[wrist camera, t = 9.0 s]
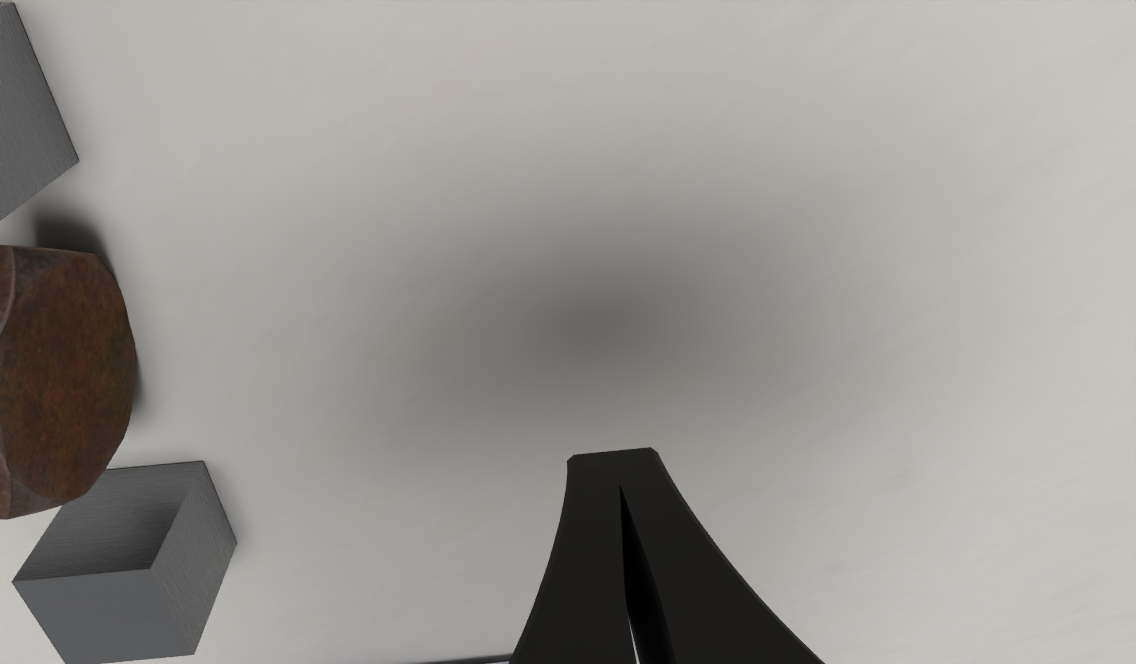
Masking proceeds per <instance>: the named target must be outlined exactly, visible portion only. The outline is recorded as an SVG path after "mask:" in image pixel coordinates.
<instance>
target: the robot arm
mask: <svg viewBox="0 0 1136 664" xmlns="http://www.w3.org/2000/svg"><path fill="white" fill-rule="evenodd" d="M628 617H629V618H628ZM629 621H630V624H629ZM630 626H631V630H632V634H633V638H634V642H635V646H636V651H637V655H638V659H639V663H640V664H825V663H824V662H823V661H822V660H821V659H819V658H818V657H817V656H816V655H815V654H814V653H813V652H812V651H811V650H810V649H809V648H808V647H807V646H806V645H805V644H804V643H803V642H802V641H801V640H800V639H799V638H798V637H797V636H796V635H795V634H794V633H793V632H792V631H791V630H790V629H789V628H788V627H787V626H786V625H785V624H784V623H783V622H782V621H781V620H780V619H779V618H778V617H777V616H776V615H775V614H774V613H773V612H772V610H771V609H770V608H769V607H768V606H767V605H766V604H765V603H764V602H763V601H762V599H761V598H760V597H759V596H758V595H757V594H756V593H755V592H754V590H753V589H752V588H751V587H750V586H749V585H748V583H747V582H746V581H745V580H744V579H743V577H742V576H741V575H740V574H739V573H738V571H737V570H736V569H735V568H734V567H733V565H732V564H731V563H730V562H729V560H728V559H727V558H726V557H725V555H724V554H723V553H722V552H721V550H720V549H719V548H718V546H717V545H716V544H715V542H714V541H713V539H712V538H711V537H710V535H709V534H708V533H707V531H706V530H705V529H704V527H703V526H702V525H701V523H700V522H699V520H698V519H697V518H696V516H695V515H694V513H693V512H692V510H691V509H690V507H689V506H688V504H687V503H686V501H685V500H684V498H683V497H682V495H681V493H680V492H679V490H678V489H677V487H676V485H675V484H674V482H673V480H672V479H671V477H670V475H669V474H668V472H667V470H666V468H665V466H664V464H663V463H662V461H661V459H660V456H659V454H658V452H656V451H655V450H654V449H652V448H651V447H649V448H639V449H629V450H618V451H608V452H598V453H587V454H577V455H573V456H572V457H571V458H570V459H569V460H568V461H567V484H566V492H565V498H564V503H563V508H562V513H561V518H560V522H559V526H558V530H557V533H556V537H555V541H554V544H553V548H552V552H551V555H550V559H549V562H548V565H547V568H546V571H545V574H544V577H543V580H542V582H541V585H540V588H539V591H538V594H537V597H536V599H535V602H534V605H533V608H532V610H531V613H530V615H529V618H528V620H527V623H526V625H525V628H524V630H523V632H522V635H521V637H520V639H519V642H518V644H517V646H516V648H515V650H514V653H513V655H512V657H511V659H510V661H507V662H497V663H486V664H637V663H636V657H635V652H634V646H633V641H632V635H631V630H630Z"/></svg>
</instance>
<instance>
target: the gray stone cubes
mask: <svg viewBox="0 0 1136 664" xmlns="http://www.w3.org/2000/svg"><path fill="white" fill-rule="evenodd" d="M77 162H79V161H78V159H77V156H76V154H75V151H74V149H73V147H72V144H71V142H70V139H69V137H68V134H67V132H66V130H65V127H64V125H63V122H62V120H61V118H60V115H59V113H58V110H57V108H56V106H55V103H54V101H53V98H52V96H51V93H50V91H49V89H48V86H47V84H46V81H45V79H44V77H43V74H42V72H41V69H40V67H39V64H38V62H37V60H36V57H35V55H34V52H33V50H32V48H31V45H30V43H29V40H28V38H27V36H26V33H25V31H24V28H23V26H22V23H21V21H20V19H19V16H18V14H17V11H16V9H15V7H14V4H13V3H3V4H0V221H1V220H2V219H3V218H5V217H6V216H7V215H8V214H10V213H11V212H12V211H14V210H15V209H16V208H18V207H19V206H20V205H22V204H23V203H24V202H26V201H27V200H28V199H30V198H31V197H32V196H34V195H35V194H36V193H38V192H39V191H40V190H42V189H43V188H44V187H46V186H47V185H48V184H50V183H51V182H52V181H53V180H55V179H56V178H57V177H59V176H60V175H61V174H63V173H64V172H65V171H67V170H68V169H69V168H71V167H72V166H73V165H75V164H76V163H77ZM236 545H237V542H236V540H235V538H234V535H233V533H232V530H231V528H230V525H229V523H228V521H227V518H226V516H225V513H224V511H223V509H222V506H221V504H220V501H219V499H218V497H217V494H216V492H215V489H214V487H213V484H212V482H211V480H210V477H209V475H208V472H207V470H206V468H205V465H204V463H203V461H202V462H191V463H180V464H169V465H158V466H147V467H136V468H125V469H115V470H104V471H103V473H102V474H101V475H100V477H99V478H98V480H97V481H96V482H95V484H94V485H93V486H92V488H91V489H90V490H89V491H88V492H87V493H86V494H85V495H83V496H81V497H79V498H77V499H75V500H73V501H71V502H68V503H66V504H64V505H63V506H62V507H61V509H60V510H59V512H58V513H57V515H56V516H55V518H54V519H53V521H52V522H51V524H50V525H49V527H48V528H47V530H46V531H45V533H44V534H43V536H42V537H41V539H40V540H39V542H38V543H37V545H36V546H35V548H34V549H33V551H32V552H31V554H30V555H29V556H28V558H27V559H26V561H25V562H24V564H23V565H22V567H21V568H20V570H19V571H18V573H17V574H16V576H15V577H14V579H13V580H12V583H13V585H14V586H15V588H16V590H17V591H18V593H19V594H20V596H21V597H22V599H23V600H24V602H25V603H26V605H27V606H28V608H29V609H30V611H31V612H32V614H33V615H34V617H35V618H36V620H37V621H38V623H39V624H40V626H41V628H42V629H43V631H44V632H45V634H46V635H47V637H48V638H49V640H50V641H51V643H52V644H53V646H54V647H55V649H56V650H57V652H58V653H59V655H60V656H61V658H62V659H63V661H64V663H65V664H102V663H113V662H123V661H134V660H144V659H154V658H165V657H175V656H185V655H194V654H195V651H196V649H197V646H198V643H199V641H200V638H201V636H202V633H203V630H204V628H205V625H206V623H207V620H208V617H209V615H210V612H211V610H212V607H213V604H214V602H215V599H216V597H217V594H218V591H219V589H220V586H221V584H222V581H223V578H224V576H225V573H226V571H227V568H228V565H229V563H230V560H231V558H232V555H233V552H234V550H235V547H236Z"/></svg>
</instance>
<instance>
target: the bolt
mask: <svg viewBox="0 0 1136 664" xmlns="http://www.w3.org/2000/svg"><path fill="white" fill-rule="evenodd" d="M134 379H135V342H134V338H133V335H132V331H131V327H130V324H129V320H128V315H127V310H126V306H125V302H124V299H123V296H122V294H121V291H120V289H119V287H118V285H117V283H116V281H115V280H114V278H113V276H112V275H111V274H110V272H109V271H108V270H107V268H106V267H105V266H104V264H103V263H102V262H101V260H100V259H99V257H98V256H97V255H96V254H94V253H86V252H78V251H70V250H60V249H50V248H37V247H23V246H7V245H0V519H12V518H16V517H20V516H24V515H29V514H33V513H37V512H41V511H45V510H48V509H51V508H55V507H58V506H61V505H64V504H66V503H68V502H71V501H73V500H75V499H77V498H79V497H81V496H83V495H85V494H86V493H87V492H88V491H89V490H90V489H91V488H92V486H93V485H94V484H95V482H96V481H97V480H98V478H99V477H100V475H101V474H102V473H103V471H104V470H105V469H106V467H107V465H108V464H109V462H110V460H111V459H112V457H113V455H114V454H115V452H116V450H117V449H118V447H119V445H120V444H121V442H122V440H123V439H124V436H125V433H126V430H127V427H128V425H129V421H130V416H131V410H132V401H133V390H134Z"/></svg>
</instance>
